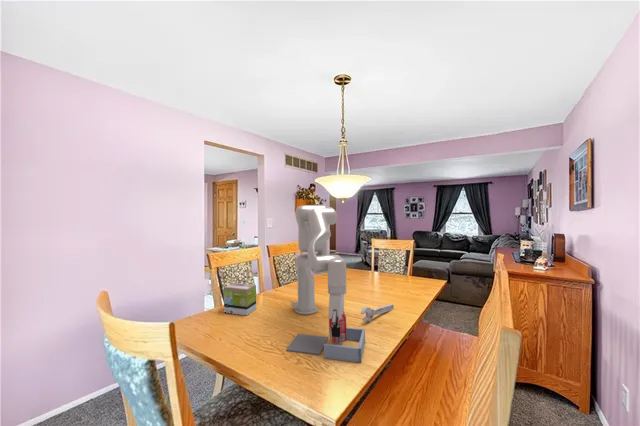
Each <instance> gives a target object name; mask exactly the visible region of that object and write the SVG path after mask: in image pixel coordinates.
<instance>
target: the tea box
mask: <svg viewBox="0 0 640 426" xmlns="http://www.w3.org/2000/svg"><path fill="white" fill-rule="evenodd" d="M254 310H255V311H256V310H257V285H256V284H253V283H252V284H250V283H242V282H232V283H231V284H228V285H226V286H224V287H223V312H226V313H225V314H231V313H232V315H238V314H239V316H240V315H241V316H244V315H248V314H249V315H251V314H252V313H253V312H255V311H254ZM251 312H252V313H251ZM250 313H251V314H250ZM249 315H248V316H249Z"/></svg>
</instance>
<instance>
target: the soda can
mask: <svg viewBox="0 0 640 426" xmlns="http://www.w3.org/2000/svg"><path fill="white" fill-rule="evenodd" d="M332 317H333V316H332ZM336 319H338V317H336ZM336 322H337V324H338V321H337V320H336ZM339 327H340V337H332V319H329V318H328V333H329V337H328V339H329V341H330V342H331V343H333V345H342V344H344V343H345V342H346V341H347V340H346V327H347V316H346V314H345V310H344V311H343V314H342V317H341V319H340V320H339Z"/></svg>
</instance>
